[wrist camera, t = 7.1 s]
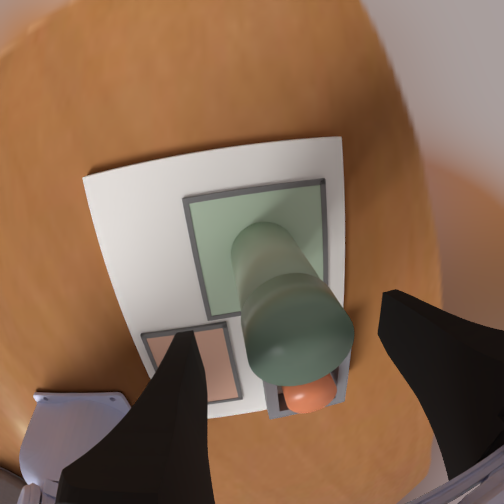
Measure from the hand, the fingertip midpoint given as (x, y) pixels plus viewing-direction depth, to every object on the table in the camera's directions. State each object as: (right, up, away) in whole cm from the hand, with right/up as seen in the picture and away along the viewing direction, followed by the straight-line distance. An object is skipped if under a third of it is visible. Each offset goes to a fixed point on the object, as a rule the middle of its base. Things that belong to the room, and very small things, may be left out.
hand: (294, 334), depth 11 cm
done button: (+2, -6, +10) cm, 12 cm away
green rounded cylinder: (-1, +3, +6) cm, 7 cm away
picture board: (-3, -1, +9) cm, 9 cm away
